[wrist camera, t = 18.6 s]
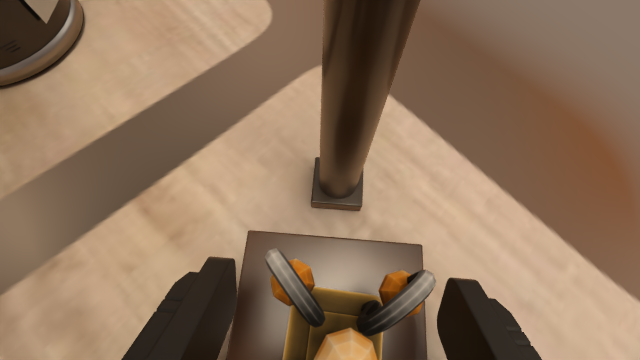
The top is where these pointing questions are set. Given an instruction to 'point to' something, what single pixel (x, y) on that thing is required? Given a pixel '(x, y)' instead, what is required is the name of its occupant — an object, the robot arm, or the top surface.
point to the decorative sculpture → (341, 311)
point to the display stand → (338, 186)
